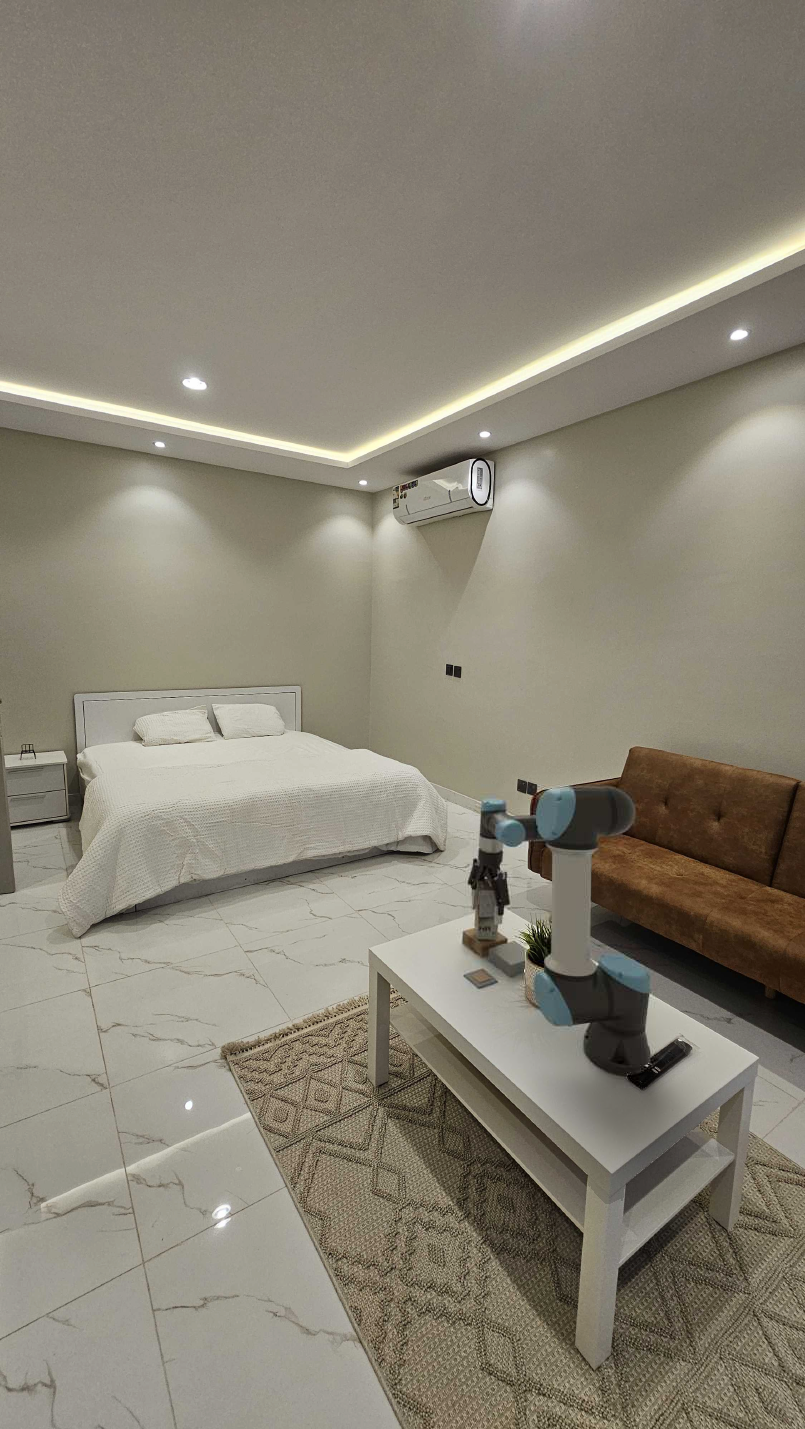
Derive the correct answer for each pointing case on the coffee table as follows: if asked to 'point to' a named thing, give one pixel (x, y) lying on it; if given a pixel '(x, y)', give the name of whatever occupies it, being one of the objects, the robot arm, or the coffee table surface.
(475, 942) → the walnut block
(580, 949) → the robot arm
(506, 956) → the grey square block
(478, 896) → the coffee box
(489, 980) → the square coaster
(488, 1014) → the coffee table surface
